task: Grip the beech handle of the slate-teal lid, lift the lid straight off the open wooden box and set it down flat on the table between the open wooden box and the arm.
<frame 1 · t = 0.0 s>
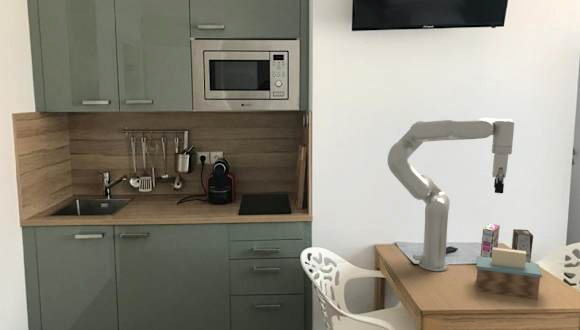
hand: (498, 190, 208), 37 cm above the table, tool pointing down, fingers open, 9 cm apart
coffee box: (519, 267, 224), on the table
open wooden box: (505, 289, 200), on the table
candy bar box: (488, 261, 230), on the table
lid: (507, 270, 198), point 8 cm above the table, touching open wooden box
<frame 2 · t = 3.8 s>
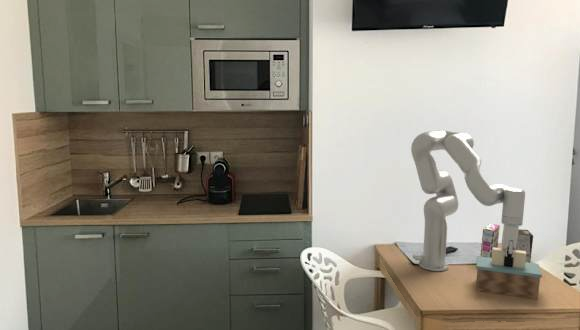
hand: (507, 264, 198), 10 cm above the table, tool pointing down, fingers closed on lid, 3 cm apart
lid: (507, 270, 198), point 8 cm above the table, touching gripper, open wooden box
everything else where it was.
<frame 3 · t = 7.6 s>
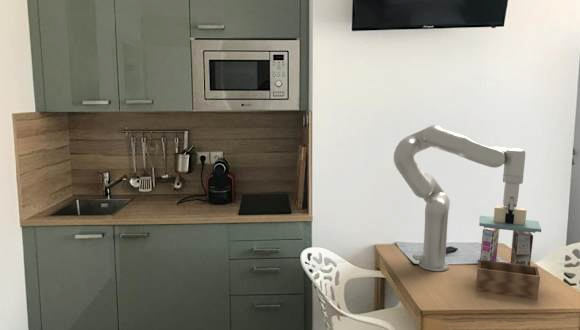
hand: (508, 221, 209), 24 cm above the table, tool pointing down, fingers closed on lid, 3 cm apart
lid: (508, 227, 209), point 21 cm above the table, touching gripper
everything else where it was.
when the fingers open (4 cm above the table, at t = 11.6 s): lid drops 2 cm, on the table.
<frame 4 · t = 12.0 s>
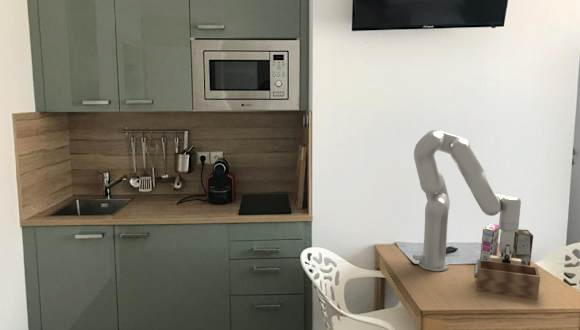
hand: (505, 265, 212), 5 cm above the table, tool pointing down, fingers open, 7 cm apart
lid: (504, 276, 213), on the table
everything else where it was.
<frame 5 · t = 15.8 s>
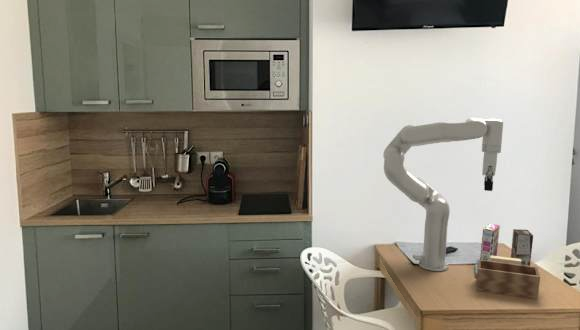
hand: (488, 188, 214), 36 cm above the table, tool pointing down, fingers open, 9 cm apart
nothing on the table moved.
at the end: lid inside the target area (0.0 cm from its centre), on the table; lid tilted 0°; the gripper is holding nothing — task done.
